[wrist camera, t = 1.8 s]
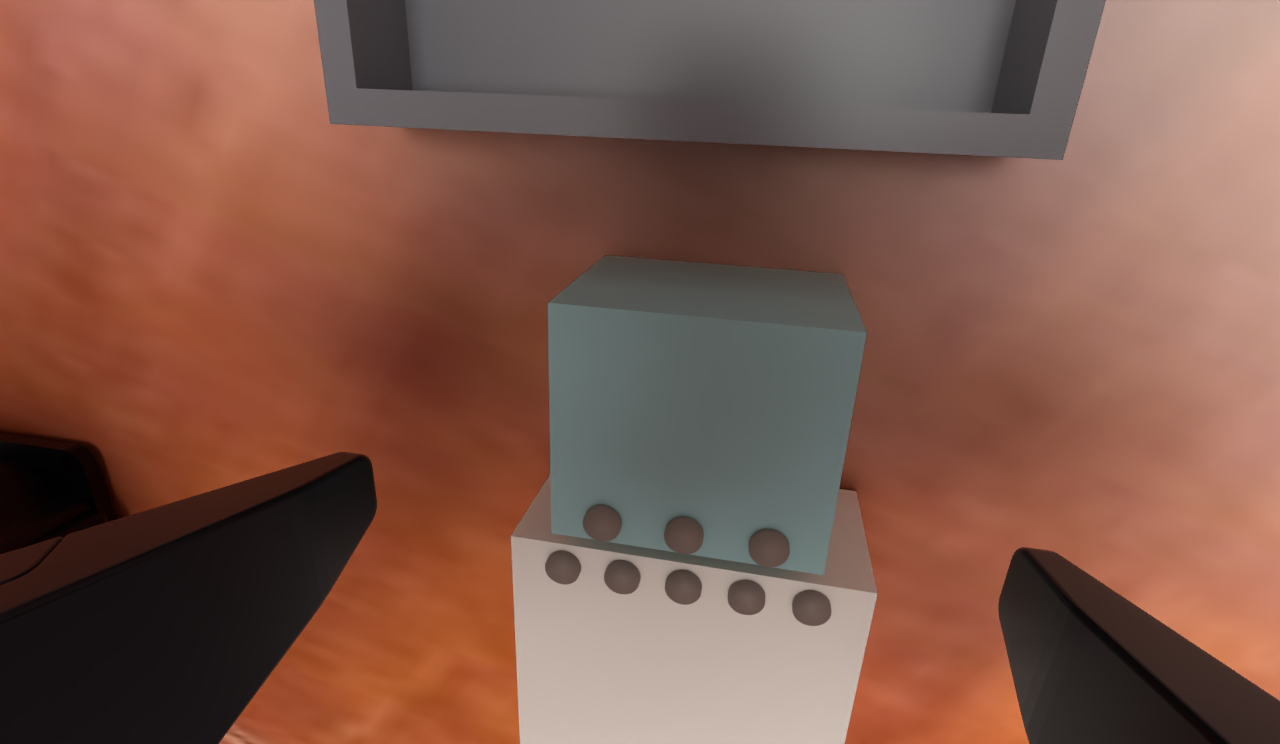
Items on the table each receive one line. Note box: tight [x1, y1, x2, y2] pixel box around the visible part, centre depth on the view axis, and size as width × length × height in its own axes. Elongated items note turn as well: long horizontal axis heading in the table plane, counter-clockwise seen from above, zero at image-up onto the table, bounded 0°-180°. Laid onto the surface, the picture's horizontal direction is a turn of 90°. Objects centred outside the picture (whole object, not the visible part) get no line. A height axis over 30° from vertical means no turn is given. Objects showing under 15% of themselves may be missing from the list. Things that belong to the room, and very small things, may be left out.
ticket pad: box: [511, 475, 877, 744], centre depth 16 cm, size 7×11×4 cm, turn 178°
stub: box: [548, 255, 867, 575], centre depth 13 cm, size 5×4×4 cm
